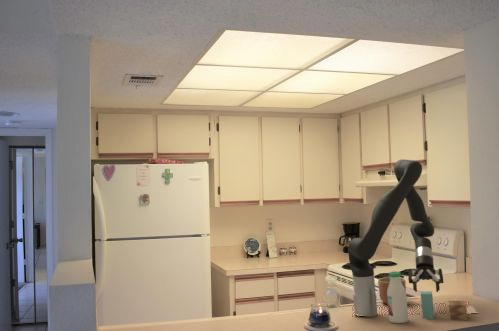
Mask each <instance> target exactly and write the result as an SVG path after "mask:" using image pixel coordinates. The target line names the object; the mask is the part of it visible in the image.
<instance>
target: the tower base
mask: <svg viewBox="0 0 499 331" xmlns="http://www.w3.org/2000/svg"><path fill="white" fill-rule="evenodd" d="M447 302H448V313H449V320H455V321H457V320H458V321H468V314H467V308H466V306H467V303H466V300H448V301H447Z"/></svg>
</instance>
